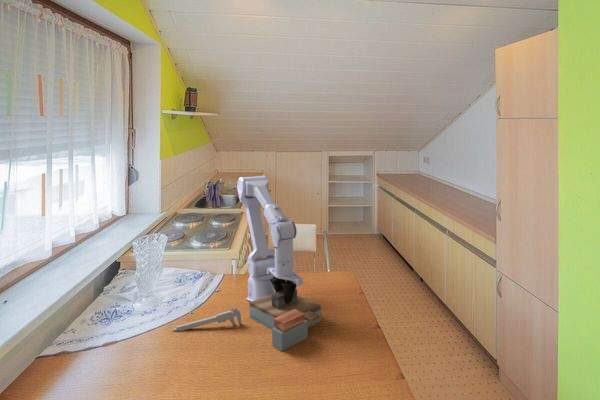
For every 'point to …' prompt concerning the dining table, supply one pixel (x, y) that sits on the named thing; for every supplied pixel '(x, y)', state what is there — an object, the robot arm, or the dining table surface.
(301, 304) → the lid
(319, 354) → the dining table surface
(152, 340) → the dining table surface
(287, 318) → the salmon pink block
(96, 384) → the dining table surface
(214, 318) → the caliper
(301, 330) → the blue grey tray
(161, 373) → the dining table surface
